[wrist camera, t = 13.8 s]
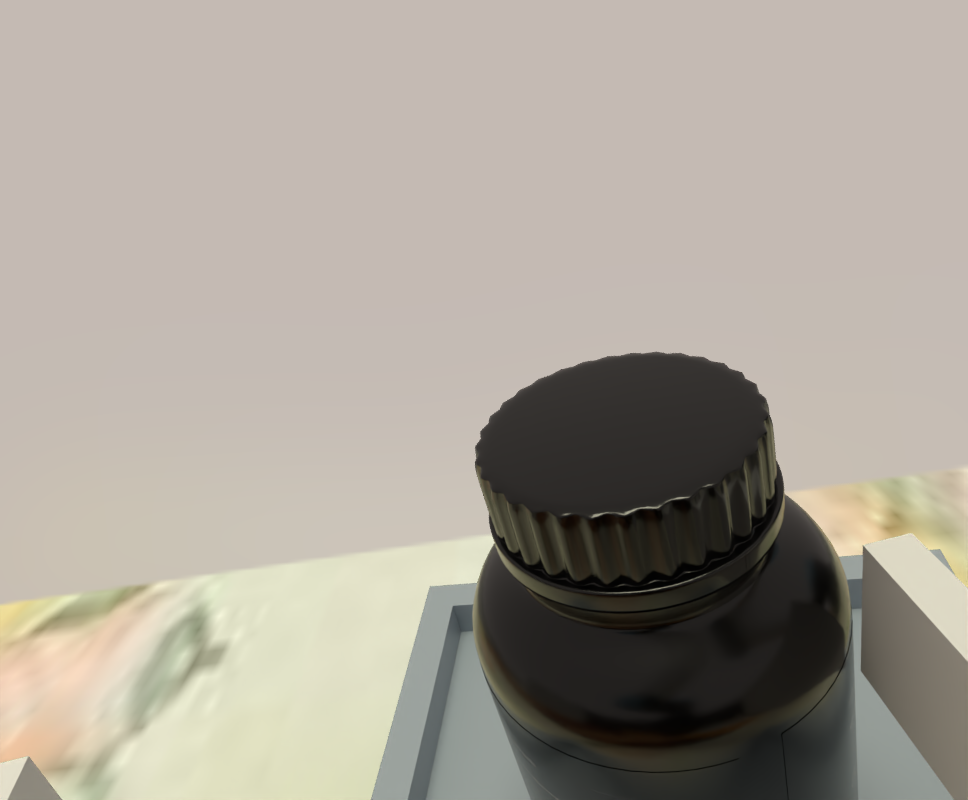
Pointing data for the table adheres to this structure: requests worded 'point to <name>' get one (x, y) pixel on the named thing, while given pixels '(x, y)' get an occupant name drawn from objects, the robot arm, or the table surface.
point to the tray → (487, 752)
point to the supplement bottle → (659, 593)
